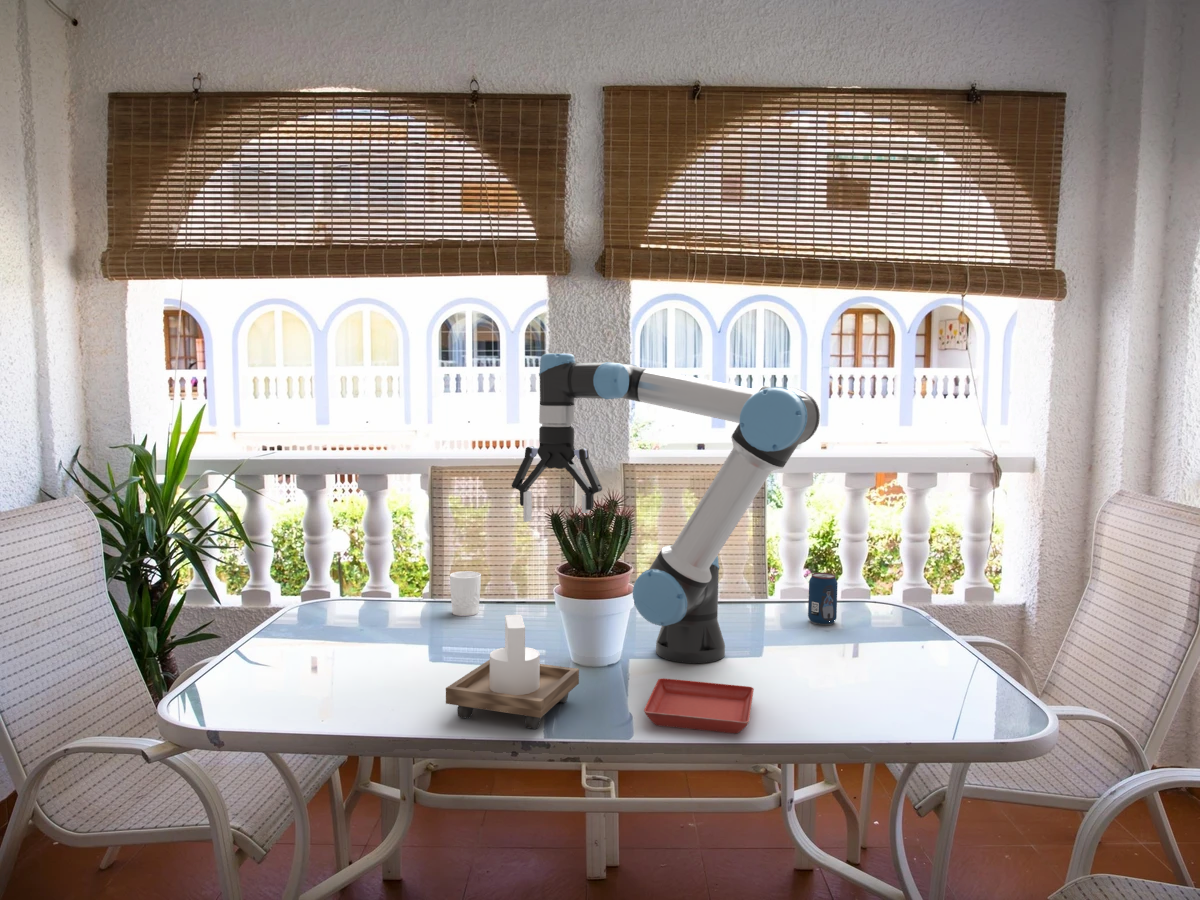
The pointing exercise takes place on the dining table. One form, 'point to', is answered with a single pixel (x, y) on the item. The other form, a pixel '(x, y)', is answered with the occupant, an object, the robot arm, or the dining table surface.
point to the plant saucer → (700, 705)
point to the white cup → (465, 592)
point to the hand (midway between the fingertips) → (556, 523)
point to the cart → (534, 705)
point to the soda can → (822, 598)
